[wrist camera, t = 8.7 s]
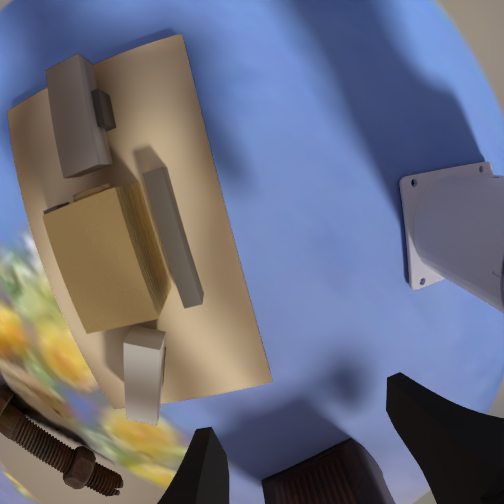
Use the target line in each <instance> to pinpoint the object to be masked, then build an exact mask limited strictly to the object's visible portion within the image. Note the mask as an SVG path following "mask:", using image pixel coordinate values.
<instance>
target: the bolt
mask: <svg viewBox="0 0 504 504" xmlns="http://www.w3.org/2000/svg"><path fill="white" fill-rule="evenodd" d="M13 396H14V393H12V392H11V391H10V390H9V389H8V388H7V387H6V386H0V432H1V433H2V434H3V435H5V436H6V437H7V438H8V439H11V440H13V441H14V442H15V441H16V443H17V444H18V443H19V446H21V445H22V448H24V447H25V450H28V452H30V453H31V454H33V455H34V456H36V457H37V458H39V459H40V460H41V459H42V461H43V462H44V461H45V463H48V464H49V465H51V466H52V467H54V468H55V469H57V470H58V471H59V470H60V472H63V480H64V482H65V484H67V485H68V486H70V487H72V488H74V489H81V488H83V487H84V486H87V487H90V489H92V488H93V490H96V492H99V493H102V495H105V496H113V495H119V494H120V491H119V490H116V489H115V488H122V487H123V480H122V478H121V475H119V474H118V473H115V472H114V471H112V470H109V469H108V468H106V467H103V465H102V466H101V465H100V464H98V463H97V462H96V463H95V460H96V458H95V455H94V453H93V452H91V451H90V450H88V449H86V448H85V447H83V446H79V447H77V448H76V449H75V450H74V449H71V447H68V445H67V446H66V445H65V444H63V442H60V440H57V438H54V436H52V437H51V434H49V435H48V432H45V430H42V428H41V429H40V427H39V426H38V427H37V424H35V425H34V422H32V423H31V420H28V418H26V416H25V415H23V413H22V412H21V411H19V410H18V409H17V408H16V407H14V406H13V405H12V404H11V401H12V398H13Z"/></svg>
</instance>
